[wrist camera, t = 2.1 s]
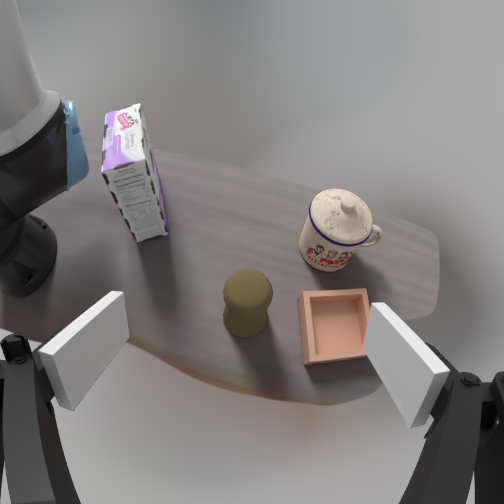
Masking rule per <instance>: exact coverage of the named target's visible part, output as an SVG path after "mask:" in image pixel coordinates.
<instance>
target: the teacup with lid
mask: <svg viewBox="0 0 504 504" xmlns="http://www.w3.org/2000/svg"><path fill="white" fill-rule="evenodd" d="M371 233H375V234H376V235H375V236H374V237H372V238H369V236H370V234H371ZM382 237H383V232H382V230H381V228H380V227H378V226H376V225H373V219H372V215H371V212H370V210H369V208H368V207H367V205H366V204H365V203H364V202H363V201H362V200H361V199H360V198H359V197H358V196H356V195H354V194H353V193H351V192H348V191H345V190H341V189H330V190H325V191H323V192H321V193H319V194H318V195H317V196H315V197H314V199H313V200H312V201H311V204H310V207H309V214H308V217H307V220H306V223H305V225H304V228H303V231H302V233H301V236H300V240H299V247H300V251H301V254H302V256H303V257H304V259H305V260H306V261H307V262H308V263H309V264H310V265H311V266H313V267H314V268H316V269H318V270H321V271H327V272H331V271H337V270H339V269H341V268H343V267H344V266H345V265H346V264H347V263H348V262H349V261H350V259H351V258H352V257H353V255H354V254H355V253H356V251H357V250H358V248H359V247H369V246H373V245H375V244H377V243H378V242H379V241H380V240H381V239H382ZM368 238H369V239H368Z"/></svg>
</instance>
